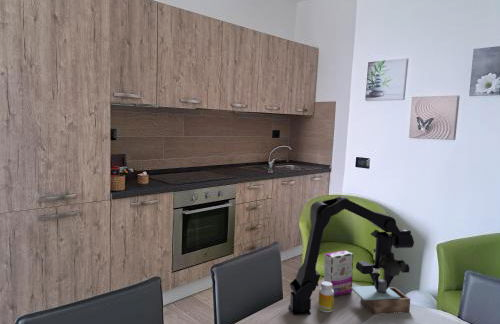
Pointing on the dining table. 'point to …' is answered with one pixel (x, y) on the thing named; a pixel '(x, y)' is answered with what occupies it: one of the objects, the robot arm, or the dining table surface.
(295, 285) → the robot arm
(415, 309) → the dining table surface
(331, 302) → the supplement bottle
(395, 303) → the walnut box
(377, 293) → the sliding cover
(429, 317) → the dining table surface
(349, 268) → the candy bar box
